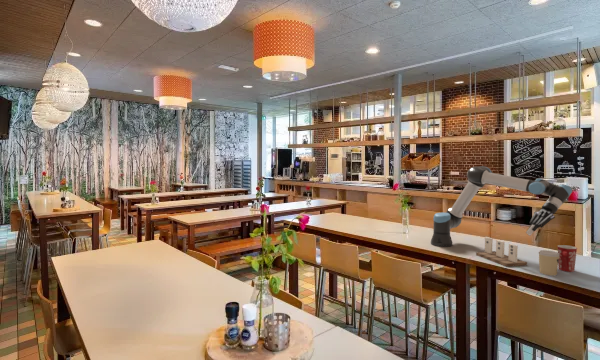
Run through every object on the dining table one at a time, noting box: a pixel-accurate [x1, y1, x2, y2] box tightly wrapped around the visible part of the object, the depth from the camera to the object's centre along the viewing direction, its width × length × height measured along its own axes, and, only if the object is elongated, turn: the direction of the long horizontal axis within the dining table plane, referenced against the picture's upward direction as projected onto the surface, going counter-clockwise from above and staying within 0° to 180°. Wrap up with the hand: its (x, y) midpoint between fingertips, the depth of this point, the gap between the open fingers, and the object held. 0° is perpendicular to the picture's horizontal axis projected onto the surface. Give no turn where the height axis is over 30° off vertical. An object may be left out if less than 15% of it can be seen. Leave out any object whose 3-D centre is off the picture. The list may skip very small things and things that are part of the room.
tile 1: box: [484, 236, 493, 254], centre depth 227 cm, size 5×2×10 cm, turn 11°
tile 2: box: [495, 239, 505, 258], centre depth 217 cm, size 5×2×10 cm, turn 11°
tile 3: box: [507, 243, 519, 262], centre depth 207 cm, size 5×2×10 cm, turn 11°
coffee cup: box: [538, 249, 559, 277], centre depth 191 cm, size 9×9×12 cm
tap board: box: [475, 250, 528, 268], centre depth 217 cm, size 26×14×2 cm, turn 11°
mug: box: [556, 244, 578, 273], centre depth 195 cm, size 13×9×14 cm
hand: (528, 234), depth 209 cm, fingers closed
